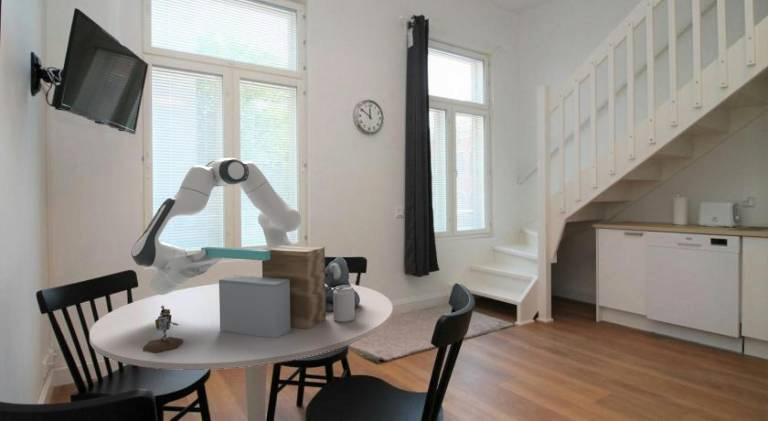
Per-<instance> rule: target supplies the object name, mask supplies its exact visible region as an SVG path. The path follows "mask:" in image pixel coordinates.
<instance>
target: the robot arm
mask: <svg viewBox="0 0 768 421" xmlns="http://www.w3.org/2000/svg"><path fill="white" fill-rule="evenodd" d="M232 185H238V186H240V187H241V190H242V191H243V192H244V194H245V195H246V196H247V198H248V199H249V201H250V203H252V205H253V207H255V208H256V209H258V210H259V211H260V213H259V214H258V216H257V221H258V224H259V226H260V227H261V229H262V230H263V231H262V232H263V234H264V237H265V238H264V239H265V243H266V249H267V248H272V247H277V246H281V245H285V246H293V245H292V242H291V241H290V239H289V237H288V234H287V233H290V232H294V231H296V230H298V229H299V228H300V226H301V224H302V218H301V214H300V213H299V211H297V210H295V209H294V208H292V206H290V205H289V203H287V201H285V200H284V199H283V198H282V197H281V196H280V195H279V194H278V193H277V191H276V190H275V189H274V188H273V186H272V185H271V183H270V182H269V180H268V179H267V177H266V176H265V174H264V173H263V172H262V171H261V169H260V168H259V167H258V166H257V165H256V164H255V163H254V162H252V161H247V160H245V161H242V160H239V159H237V158H236V157H235V158H233V157H227V158H219V159H217V160H212V161H210V162H209V163H207V164H206V165H205V166H204V165H193V166H191V167H190V168H189V170H188V171H187V173H186V175H185V176H184V178H183V180H182V182H181V184H180V186H179V188H178V191H177V192H176V194H174V196H172V197H169V198H167V199H165V200H164V201H163V202H162V204H161V205H160V207H159V208H158V210H157V211H156V212H155V214H154V216H153V217H152V219H151V221H150V222H149V224H148V226H147V227H146V229H145V230H144V232H143V234H142V235H141V236H140V237H139V238H138V240H137V241H136V242H135V244H134V245H133V247H132V250H131V257H132V260H133V261H134V262H135V263H136V265H137V266H141V267H142V266H143V267H149V268H154V269H157V270H156V272H155V273H154V275H153V276H151V277H150V279H149V280H148V281H147V287H148V289H149V291H150V292H151V293H153V294H155V295H156V296H157V295H158V296H164V295H167V294H170V293H172V292H173V291H175V290H177V289H178V288H180V287H181V286H182V285H183V284H184V285H185V284H186V283H188V282H189V281H191V280H192V279H194V278H195V277H197V276H200V275H203V274H205V273H207V272H209V269H210V268H212V267H214V266H215V265H216V264H218V263H219V262H220V261H221V260H222V259H223V258H217V257H203V256H206V255H207V254H208V252H207V250H202V251H201V250H200V251H198V252H196V253H189V254H187V251H186V250H185V248H183V247H181V246H179V245H178V246H177V245H176V244H171V243H167V242H165V241H162V240H159V238H160V236H161V235H162V233H163V231H164V229H165V228H166V226H167V224H168V223H169V221H170V220H172V218H175V217H179V216H193V215H194V216H195V215H198V214H200V213H201V212H203V210H204V209H206V207H207V205H208V202H209V199H210V197H211V193H212V191H213V189H214V188H215V187H228V186H232Z"/></svg>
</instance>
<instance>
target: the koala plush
mask: <svg viewBox="0 0 768 421" xmlns="http://www.w3.org/2000/svg"><path fill="white" fill-rule="evenodd" d="M347 264H348V263H347V261H346V260H345V259H344V258H343V257H341V256H337V257H336V258H334V260H331V261H330V262H329V263H328V265H327V266H325V312H334V304H333V292H334V290H335V287H337V286H343V285H347V286H352V284H351V283H350V274H349V273H350V270H349V268H348V265H347ZM352 289H353V290H354V301H355V308H357V307H359V305H360V302H361V299H360V295H359V294H358V292H357V291H356V290H355V288H352Z"/></svg>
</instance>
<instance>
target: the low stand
mask: <svg viewBox="0 0 768 421" xmlns="http://www.w3.org/2000/svg"><path fill="white" fill-rule="evenodd" d="M218 294H219V299H218V301H219V302H218V303H219V330H220V331H221V332H228V333H237V334H243V335H251V336H255V337H256V336H258V337H266V338H272V339H278V338H280V337H281V336H283V335H285V334H286V333H288V332H290V331H291V327H290V279H277V278H264V277H262V276H250V275H249V276H248V275H237V274H236V275H231V276H228V277H225V278H222V279H218Z"/></svg>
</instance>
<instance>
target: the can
mask: <svg viewBox="0 0 768 421" xmlns="http://www.w3.org/2000/svg"><path fill="white" fill-rule="evenodd" d="M352 288H353V286H352V285H351V286H347V285H343V286H337V287H335V290H334V292H333V304H334V311H333V319H334V321H335V322H337V323H349V322H350V323H351V322H352V321H353V320H354V319H355V316H356V314H355V309H356V307H355V301H354V290H355V289H354V288H353V289H354V290H353V289H352Z"/></svg>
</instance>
